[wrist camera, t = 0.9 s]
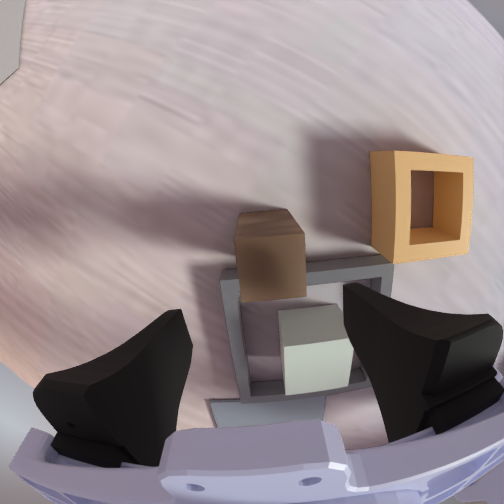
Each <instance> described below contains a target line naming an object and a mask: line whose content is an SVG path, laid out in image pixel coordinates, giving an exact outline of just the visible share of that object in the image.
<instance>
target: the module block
mask: <svg viewBox="0 0 504 504" xmlns="http://www.w3.org/2000/svg"><path fill="white" fill-rule="evenodd" d="M278 321H279V339H280V357H281V364H282V372H283V379H284V387H285V394H286V395H294V394H302V393H309V392H317V391H323V390H329V389H335V388H341V387H346V386H348V383H349V377H350V371H351V364H352V357H353V350H354V348H353V347H352V345H351V343H350V341H349V338H348V335H347V332H346V330H345V327H344V324H343V314H342V312H341V310H340V308H339V307H338V305H337V304H332V305H324V306H316V307H307V308H298V309H288V310H278Z"/></svg>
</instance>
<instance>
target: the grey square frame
mask: <svg viewBox="0 0 504 504" xmlns="http://www.w3.org/2000/svg"><path fill="white" fill-rule="evenodd" d="M393 272H394V264H393V263H391V262H390V261H389V260H388V259H386V258H385V257H384V256H383V255H373V256H364V257H354V258H345V259H335V260H325V261H315V262H306V286H309V285H318V284H327V283H336V282H344V281H352V280H360V279H368V278H371V289H372V290H374V291H377V292H379V293H381V294H383V295H385V296H387V297H390V298H391V290H392V282H393ZM220 287H221V293H222V299H223V306H224V312H225V318H226V324H227V330H228V336H229V341H230V347H231V353H232V358H233V364H234V369H235V375H236V380H237V385H238V390H239V396H240V401H241V404H250V403H265V402H277V401H287V400H296V399H304V398H312V397H319V396H325V395H331V394H337V393H342V392H348V391H353V390H358V389H362V388H367V387H372V384H371V382H370V379H369V377H368V375H367V373H366V371H365V369H364V367H363V365H362V364H361V367H360V368H359V369H353V370H351V371H350V377H349V383H348V386H346V387H341V388H335V389H329V390H323V391H317V392H309V393H302V394H294V395H286V394H285V387H284V380H274V381H263V382H251V380H250V374H249V367H248V360H247V353H246V345H245V338H244V331H243V324H242V316H241V309H240V301H239V293H238V292H240V286H239V278H238V270H237V269H228V270H222V273H221V277H220Z"/></svg>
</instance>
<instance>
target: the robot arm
mask: <svg viewBox="0 0 504 504" xmlns="http://www.w3.org/2000/svg"><path fill="white" fill-rule="evenodd" d="M343 324H344V327H345V330H346V332H347V335H348V338H349V341H350V343H351V345H352V347H353V348H354V350H355V352H356V354H357V356H358V358H359V360H360V362H361V364H362V365H363V367H364V369H365V371H366V373H367V375H368V377H369V379H370V382H371V384H372V387H373V390H374V392H375V395H376V398H377V401H378V404H379V408H380V411H381V414H382V418H383V421H384V425H385V429H386V433H387V437H388V442H389V443H388V444H385V445H382V446H378V447H371V448H362V449H353V450H345V447H344V444H343V440H342V436H341V434H340V432H339V430H338V427H337V426H336V425H333V424H330V423H327V422H324V421H321V420H294V421H288V422H280V423H272V424H263V425H253V426H241V427H223V428H193V429H187V430H180V431H176V424H177V417H178V409H179V404H180V400H181V396H182V393H183V389H184V386H185V382H186V379H187V375H188V372H189V368H190V364H191V358H192V349H193V344H192V341H191V338H190V335H189V332H188V329H187V326H186V323H185V320H184V317H183V314H182V310H181V309H176V310H168V311H167V312H165V313H163V314H162V315H161V316H159V317H158V318H157V319H156V320H154V321H153V322H152V323H150V324H149V325H148V326H147V327H145V328H144V329H143V330H142V331H140V332H139V333H138V334H136V335H135V336H133V337H132V338H131V339H129V340H128V341H126V342H125V343H123V344H122V345H120V346H119V347H117V348H115V349H114V350H112V351H110V352H108V353H107V354H104V355H102V356H100V357H98V358H96V359H94V360H92V361H89V362H87V363H84V364H82V365H79V366H76V367H73V368H70V369H66V370H62V371H58V372H54V373H49V374H46V375H45V376H44V377H43V379H42V380H41V381H40V382H39V384H38V385H37V386H36V388H35V389H34V391H33V398H34V401H35V403H36V405H37V407H38V408H39V410H40V411H41V413H42V414H43V415H44V417H45V418H46V419H47V420H48V421H49V423H50V424H51V425H52V426H53V427H54V429H55V430H56V431H57V434H56V436H55V437H53V436H52V435H50V434H49V433H46V432H44V431H41V430H38V429H35V428H31V429H30V431H29V432H28V434H27V436H26V437H25V439H24V441H23V442H22V444H21V446H20V447H19V449H18V451H17V453H16V454H15V456H14V458H13V460H12V462H11V463H10V465H9V468H10V469H11V470H12V471H13V472H14V473H15V474H16V475H18V476H19V477H20V478H21V479H22V480H23V481H25V482H26V483H27V484H28V485H30V486H31V487H32V488H33V489H35V490H36V491H37V492H39V493H40V494H41V495H43V496H44V497H45V498H47V499H48V500H50V501H52V502H54V503H56V504H438V503H440V502H442V501H444V500H446V499H447V498H449V497H451V496H452V495H454V496H455V498H456V499H458V501H461V502H474V501H487V503H488V504H504V461H503V460H504V377H502V375H501V373H500V372H499V370H498V369H497V368H496V367H495V366H494V365H493V364H494V362H495V360H496V357H497V354H498V352H499V349H500V347H501V343H502V339H503V329H502V326H501V325H500V324H499V323H498V322H497V321H496V320H495V319H494V318H493V317H491V316H490V315H489V314H472V315H464V314H450V313H442V312H436V311H430V310H426V309H422V308H418V307H415V306H411V305H408V304H405V303H402V302H400V301H397V300H395V299H392V298H390V297H387V296H385V295H383V294H381V293H379V292H377V291H374V290H372V289H370V288H368V287H366V286H364V285H361V284H359V283H351V284H345V285H343ZM500 462H501V463H500ZM499 463H500V464H499ZM498 464H499V465H498ZM496 465H498V466H497V467H496V468H494V467H495V466H496ZM492 468H494V469H493V470H492V471H491V472H489V473H488V474H487V475H486V476H484V477H483V478H482V479H481V480H479V481H478V482H474V481H476V480H477V479H479V478H480V477H482V476H483V475H484V474H486V473H487V472H488V471H490V470H491V469H492Z"/></svg>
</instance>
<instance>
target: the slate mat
mask: <svg viewBox="0 0 504 504" xmlns="http://www.w3.org/2000/svg"><path fill="white" fill-rule="evenodd" d="M325 399H326V395H325V396H319V397H312V398H304V399H296V400H287V401H277V402H265V403H250V404H241V401H240V399H230V400H210V405H211V408H212V411H213V415H214V418H215V421H216V424H217V427H218V428H223V427H241V426H253V425H263V424H272V423H280V422H288V421H294V420H321V421H323V415H324V408H325Z"/></svg>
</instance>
